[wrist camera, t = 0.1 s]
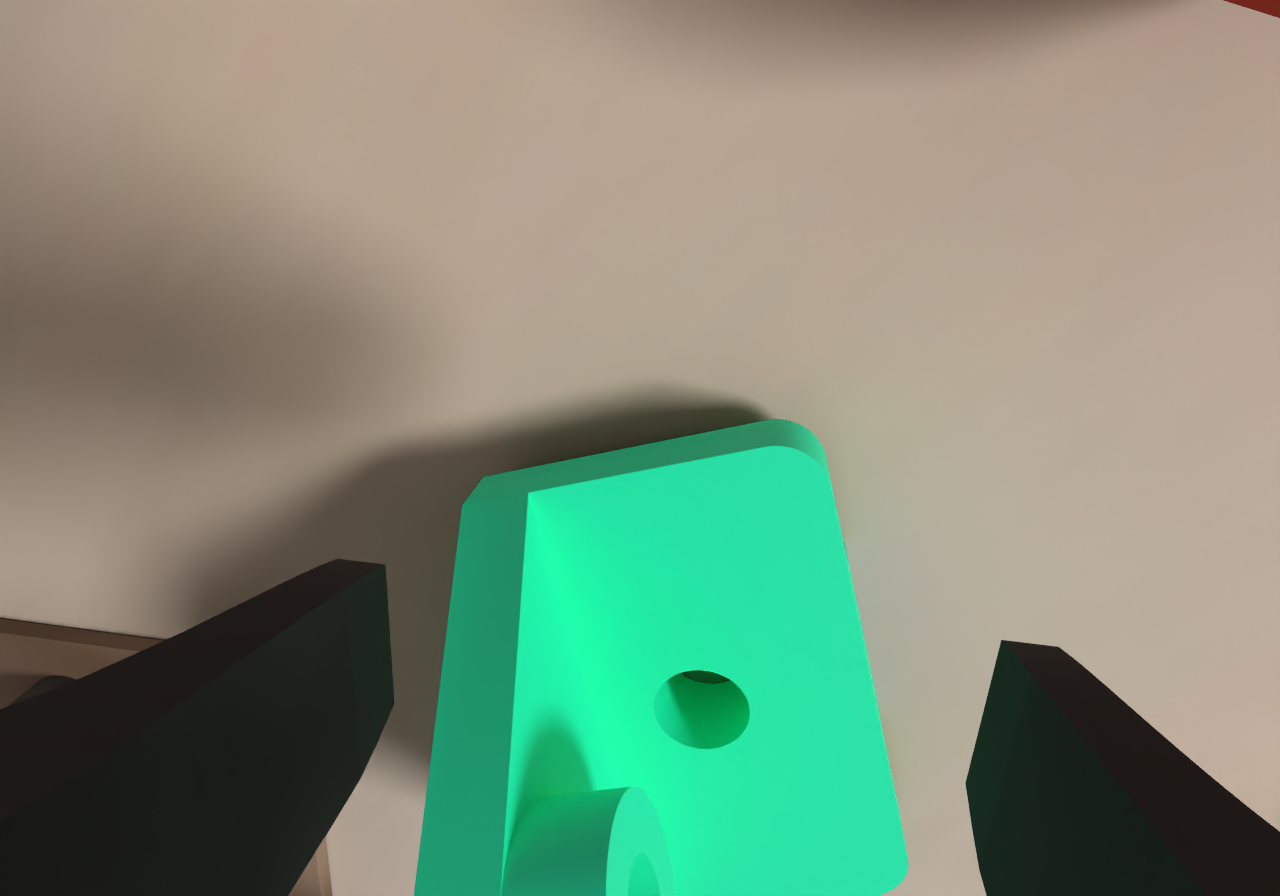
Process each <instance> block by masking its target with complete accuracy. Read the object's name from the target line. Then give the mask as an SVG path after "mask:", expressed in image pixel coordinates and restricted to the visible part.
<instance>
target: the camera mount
mask: <svg viewBox="0 0 1280 896" xmlns="http://www.w3.org/2000/svg"><path fill="white" fill-rule="evenodd" d="M693 670H703V671H710V672H714V673H717V674H720V675H722V676H724V677H726V678H728V679H730V680H729V681H726V682H723V683H716V684H707V683H700V682H697V681H694V680H691V679H689V678H687V677H685V676H684V675H682V674H681V673H682V672H686V671H693ZM907 870H908V858H907V852H906V846H905V841H904V835H903V830H902V824H901V818H900V813H899V808H898V803H897V798H896V793H895V788H894V783H893V779H892V774H891V769H890V764H889V759H888V754H887V750H886V745H885V740H884V735H883V730H882V725H881V719H880V713H879V707H878V702H877V697H876V693H875V688H874V683H873V678H872V673H871V668H870V664H869V659H868V654H867V649H866V644H865V639H864V635H863V630H862V625H861V620H860V615H859V610H858V605H857V601H856V596H855V591H854V586H853V581H852V576H851V572H850V567H849V562H848V557H847V552H846V547H845V543H844V542H843V537H842V532H841V527H840V522H839V517H838V513H837V508H836V503H835V498H834V493H833V488H832V484H831V479H830V474H829V469H828V464H827V459H826V455H825V452H824V449H823V447H822V445H821V443H820V442H819V440H818V439H817V438H816V437H815V435H814V434H813V433H811V432H810V431H809V430H808V429H806V428H805V427H803V426H801V425H799V424H797V423H794V422H791V421H787V420H780V419H772V420H765V421H760V422H755V423H750V424H745V425H740V426H735V427H730V428H725V429H720V430H715V431H710V432H705V433H700V434H695V435H690V436H685V437H680V438H675V439H670V440H665V441H660V442H655V443H650V444H645V445H640V446H635V447H630V448H625V449H620V450H615V451H610V452H605V453H600V454H595V455H590V456H585V457H580V458H575V459H570V460H565V461H560V462H555V463H550V464H545V465H540V466H535V467H530V468H525V469H520V470H515V471H510V472H505V473H500V474H495V475H490V476H485V477H483V478H482V480H481V481H480V482H479V484H478V485H477V486H476V488H475V489H474V490H473V492H472V493H471V494H470V496H469V497H468V498H467V500H466V501H465V502H464V504H463V505H462V510H461V518H460V526H459V534H458V543H457V551H456V559H455V567H454V575H453V583H452V591H451V599H450V607H449V615H448V624H447V632H446V640H445V648H444V656H443V664H442V672H441V680H440V688H439V696H438V705H437V713H436V721H435V729H434V737H433V745H432V753H431V761H430V769H429V778H428V786H427V794H426V802H425V810H424V818H423V826H422V834H421V842H420V850H419V859H418V867H417V875H416V883H415V891H414V896H877V895H881V894H884V893H887V892H889V891H891V890H892V889H894V888H895V887H897V886H898V885H899V884H900V883H901V882H902V881H903V879H904V878H905V876H906V874H907Z"/></svg>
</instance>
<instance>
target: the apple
mask: <svg viewBox="0 0 1280 896" xmlns="http://www.w3.org/2000/svg"><path fill="white" fill-rule="evenodd" d="M1224 1H1227V2H1231V3H1234V4H1237V5H1240V6H1243V7H1247V8H1250V9H1253V10H1256V11H1259V12H1263V13H1266V14H1269V15H1272V16H1275V17H1278V18H1280V0H1224Z"/></svg>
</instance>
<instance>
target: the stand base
mask: <svg viewBox="0 0 1280 896" xmlns="http://www.w3.org/2000/svg"><path fill="white" fill-rule="evenodd" d="M162 641H164V640H157V639H149V638H142V637H134V636H127V635H119V634H112V633H104V632H97V631H89V630H82V629H74V628H67V627H59V626H52V625H45V624H37V623H30V622H22V621H15V620H7V619H0V709H2V708H5V707H7V706H10V705H13V704H16V703H18V702H21V701H24V700H27V699H29V698H32V697H35V696H37V695H40V694H42V693H45V692H47V691H50V690H52V689H55V688H57V687H60V686H62V685H65V684H67V683H70V682H72V681H74V680H77V679H79V678H82V677H84V676H87V675H89V674H91V673H93V672H96V671H98V670H100V669H102V668H104V667H107V666H109V665H111V664H113V663H116V662H118V661H120V660H122V659H125V658H127V657H129V656H131V655H133V654H136V653H138V652H140V651H142V650H145V649H147V648H149V647H151V646H153V645H156V644H158V643H160V642H162ZM288 896H332V891H331V882H330V874H329V865H328V856H327V848H326V839H325V838H324V839H323V841H322V842H321V844H320V846H319V847H318V849H317V851H316V852H315V854H314V855H313V857H312V859H311V860H310V862H309V863H308V865H307V867H306V868H305V870H304V871H303V873H302V875H301V876H300V878H299V879H298V881H297V883H296V884H295V886H294V887H293V889H292V891H291V892H290V894H289V895H288Z"/></svg>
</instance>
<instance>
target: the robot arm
mask: <svg viewBox="0 0 1280 896" xmlns="http://www.w3.org/2000/svg"><path fill="white" fill-rule="evenodd" d="M393 705H394V691H393V676H392V661H391V645H390V630H389V615H388V600H387V584H386V569H385V565H383V564H375V563H367V562H359V561H350V560H342V559H336V560H333V561H331V562H328V563H326V564H323V565H321V566H318V567H316V568H314V569H311V570H309V571H307V572H305V573H303V574H301V575H299V576H296V577H294V578H292V579H290V580H288V581H286V582H284V583H282V584H280V585H278V586H276V587H274V588H272V589H270V590H268V591H266V592H264V593H262V594H260V595H258V596H256V597H254V598H252V599H249V600H247V601H245V602H243V603H241V604H239V605H237V606H235V607H233V608H231V609H229V610H227V611H225V612H223V613H221V614H219V615H217V616H215V617H213V618H211V619H209V620H207V621H205V622H203V623H201V624H199V625H197V626H194V627H192V628H190V629H188V630H186V631H184V632H182V633H180V634H178V635H176V636H173V637H171V638H169V639H167V640H165V641H162V642H160V643H158V644H156V645H153V646H151V647H149V648H147V649H145V650H142V651H140V652H138V653H136V654H133V655H131V656H129V657H127V658H125V659H122V660H120V661H118V662H116V663H113V664H111V665H109V666H107V667H104V668H102V669H100V670H98V671H96V672H93V673H91V674H89V675H87V676H84V677H82V678H79V679H77V680H74V681H72V682H70V683H67V684H65V685H62V686H60V687H57V688H55V689H52V690H50V691H47V692H45V693H42V694H40V695H37V696H35V697H32V698H29V699H27V700H24V701H21V702H18V703H16V704H13V705H10V706H7V707H5V708H2V709H0V896H288V895H289V894H290V892H291V891H292V889H293V887H294V886H295V884H296V883H297V881H298V879H299V878H300V876H301V875H302V873H303V871H304V870H305V868H306V867H307V865H308V863H309V862H310V860H311V859H312V857H313V855H314V854H315V852H316V851H317V849H318V847H319V846H320V844H321V842H322V841H323V839H324V838H325V836H326V834H327V833H328V831H329V830H330V828H331V826H332V825H333V823H334V821H335V820H336V818H337V816H338V815H339V813H340V812H341V810H342V808H343V807H344V805H345V803H346V802H347V800H348V798H349V797H350V795H351V793H352V792H353V790H354V788H355V787H356V785H357V783H358V782H359V780H360V778H361V777H362V774H363V772H364V770H365V768H366V766H367V764H368V762H369V759H370V757H371V755H372V753H373V751H374V749H375V747H376V744H377V742H378V740H379V738H380V735H381V733H382V731H383V728H384V726H385V724H386V721H387V719H388V717H389V714H390V712H391V710H392V707H393ZM966 789H967V796H968V802H969V809H970V816H971V823H972V829H973V835H974V841H975V847H976V852H977V858H978V864H979V870H980V873H981V877H982V880H983V884H984V888H985V891H986V895H987V896H1280V832H1279V831H1278V830H1277V829H1275V828H1274V827H1273V826H1272V825H1270V824H1269V823H1268V822H1266V821H1265V820H1264V819H1263V818H1261V817H1260V816H1259V815H1257V814H1256V813H1255V812H1254V811H1252V810H1251V809H1250V808H1249V807H1247V806H1246V805H1245V804H1244V803H1242V802H1241V801H1240V800H1239V799H1237V798H1236V797H1235V796H1234V795H1233V794H1231V793H1230V792H1229V791H1228V790H1226V789H1225V788H1224V787H1223V786H1222V785H1220V784H1219V783H1218V782H1217V781H1215V780H1214V779H1213V778H1212V777H1211V776H1210V775H1208V774H1207V773H1206V772H1205V771H1204V770H1202V769H1201V768H1200V767H1199V766H1198V765H1196V764H1195V763H1194V762H1193V761H1192V760H1191V759H1189V758H1188V757H1187V756H1186V755H1185V754H1183V753H1182V752H1181V751H1180V750H1179V749H1178V748H1176V747H1175V746H1174V745H1173V744H1172V743H1171V742H1169V741H1168V740H1167V739H1166V738H1165V737H1164V736H1163V735H1161V734H1160V733H1159V732H1158V731H1157V730H1156V729H1155V728H1153V727H1152V726H1151V725H1150V724H1149V723H1148V722H1146V721H1145V720H1144V719H1143V718H1142V717H1141V716H1140V715H1138V714H1137V713H1136V712H1135V711H1134V710H1133V709H1132V708H1131V707H1129V706H1128V705H1127V704H1126V703H1125V702H1124V701H1123V700H1121V699H1120V698H1119V697H1118V696H1117V695H1116V694H1115V693H1113V692H1112V691H1111V690H1110V689H1109V688H1108V687H1107V686H1105V685H1104V684H1103V683H1102V682H1101V681H1100V680H1098V679H1097V678H1096V677H1095V676H1094V675H1093V674H1092V673H1090V672H1089V671H1088V670H1087V669H1086V668H1084V667H1083V666H1082V665H1081V664H1080V663H1078V662H1077V661H1076V660H1075V659H1074V658H1072V657H1071V656H1070V655H1068V654H1067V653H1066V652H1064V651H1063V650H1062V649H1061V648H1059V647H1054V646H1046V645H1038V644H1030V643H1022V642H1013V641H1005V640H1001V644H1000V648H999V652H998V656H997V660H996V664H995V668H994V672H993V676H992V680H991V684H990V688H989V692H988V696H987V700H986V704H985V708H984V712H983V716H982V720H981V724H980V728H979V732H978V736H977V740H976V744H975V748H974V752H973V756H972V760H971V764H970V768H969V772H968V776H967V780H966Z"/></svg>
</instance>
